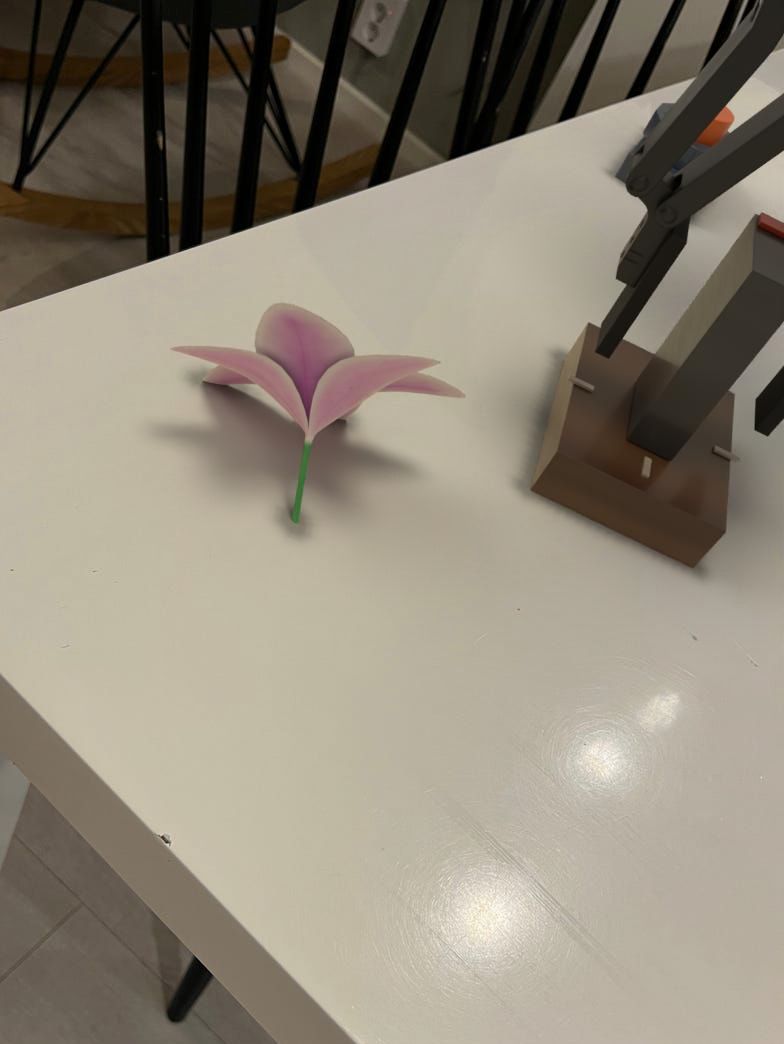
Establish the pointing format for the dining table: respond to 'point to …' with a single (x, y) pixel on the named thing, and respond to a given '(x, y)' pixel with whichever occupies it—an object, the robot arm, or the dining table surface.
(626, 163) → the button box
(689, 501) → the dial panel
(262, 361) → the lily
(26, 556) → the dining table surface
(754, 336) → the open box
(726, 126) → the button
